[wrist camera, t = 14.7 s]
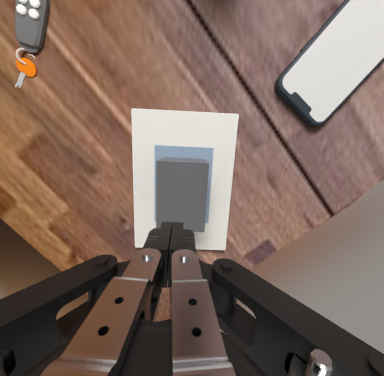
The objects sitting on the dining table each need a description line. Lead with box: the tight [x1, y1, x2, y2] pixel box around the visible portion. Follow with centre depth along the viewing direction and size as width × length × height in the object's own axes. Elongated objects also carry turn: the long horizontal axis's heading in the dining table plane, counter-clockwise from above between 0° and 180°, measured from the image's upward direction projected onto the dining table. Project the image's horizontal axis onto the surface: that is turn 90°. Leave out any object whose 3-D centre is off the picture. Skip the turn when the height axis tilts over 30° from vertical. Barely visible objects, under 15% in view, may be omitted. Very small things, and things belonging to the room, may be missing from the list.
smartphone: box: [275, 0, 384, 126], centre depth 24 cm, size 9×2×16 cm
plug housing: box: [156, 157, 209, 232], centre depth 24 cm, size 6×8×6 cm
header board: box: [131, 108, 239, 250], centre depth 25 cm, size 14×20×4 cm
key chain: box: [15, 0, 50, 88], centre depth 23 cm, size 13×4×2 cm, turn 163°
